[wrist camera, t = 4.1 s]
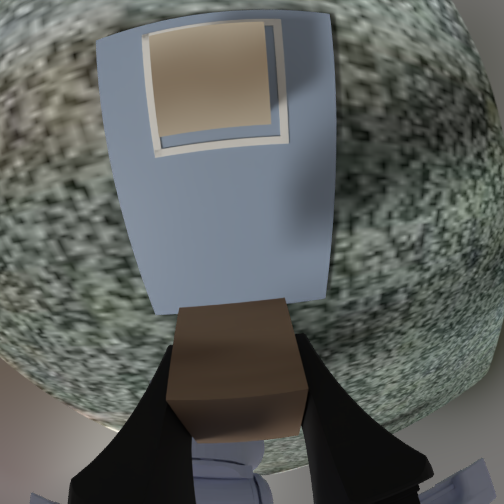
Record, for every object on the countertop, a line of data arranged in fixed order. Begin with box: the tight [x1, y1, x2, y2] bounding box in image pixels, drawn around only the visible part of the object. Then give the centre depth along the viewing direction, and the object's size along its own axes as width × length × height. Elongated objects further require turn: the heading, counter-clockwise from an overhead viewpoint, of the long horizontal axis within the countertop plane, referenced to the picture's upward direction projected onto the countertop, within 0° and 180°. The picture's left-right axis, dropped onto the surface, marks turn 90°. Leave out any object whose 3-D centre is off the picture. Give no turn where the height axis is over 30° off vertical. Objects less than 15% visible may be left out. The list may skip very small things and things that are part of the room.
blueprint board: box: [96, 10, 336, 315], centre depth 14 cm, size 18×12×1 cm, turn 4°
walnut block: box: [166, 298, 308, 443], centre depth 9 cm, size 4×4×4 cm
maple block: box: [149, 22, 271, 137], centre depth 9 cm, size 4×4×4 cm
